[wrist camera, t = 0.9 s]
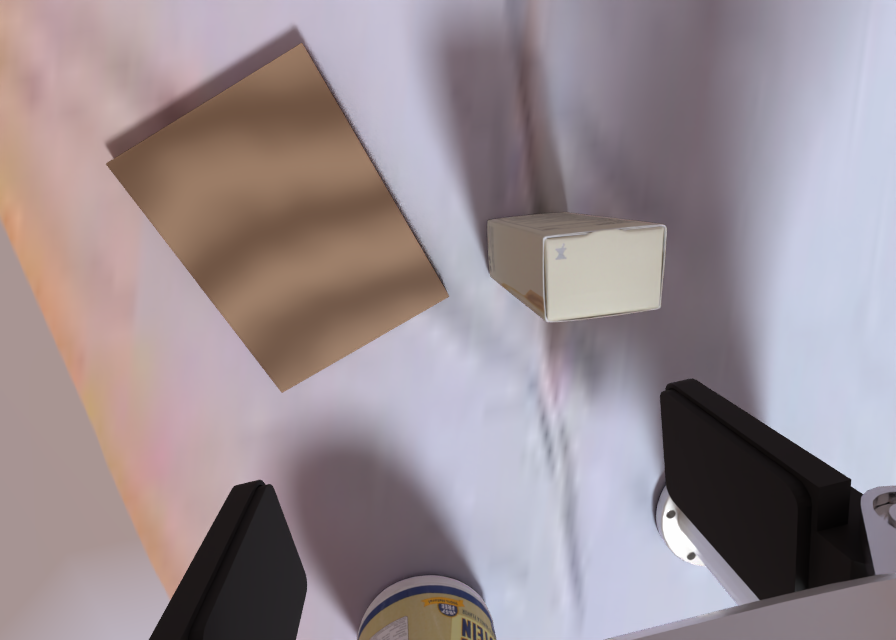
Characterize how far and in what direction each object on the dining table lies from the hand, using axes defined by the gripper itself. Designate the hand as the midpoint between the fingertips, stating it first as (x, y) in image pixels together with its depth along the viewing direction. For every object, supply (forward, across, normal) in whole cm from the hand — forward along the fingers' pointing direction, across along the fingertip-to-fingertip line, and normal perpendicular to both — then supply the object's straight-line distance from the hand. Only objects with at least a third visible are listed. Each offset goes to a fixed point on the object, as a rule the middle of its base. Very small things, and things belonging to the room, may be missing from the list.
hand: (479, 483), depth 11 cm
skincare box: (+24, -8, -1) cm, 25 cm away
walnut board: (+24, +8, -5) cm, 25 cm away
